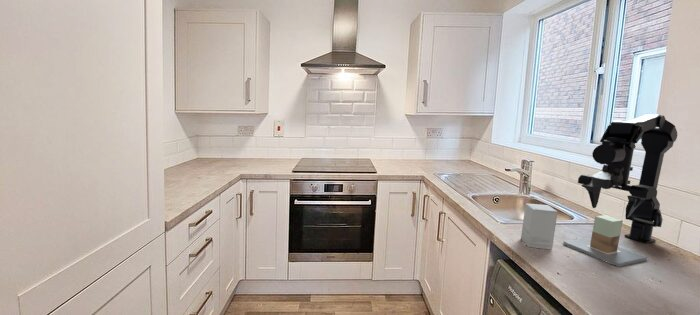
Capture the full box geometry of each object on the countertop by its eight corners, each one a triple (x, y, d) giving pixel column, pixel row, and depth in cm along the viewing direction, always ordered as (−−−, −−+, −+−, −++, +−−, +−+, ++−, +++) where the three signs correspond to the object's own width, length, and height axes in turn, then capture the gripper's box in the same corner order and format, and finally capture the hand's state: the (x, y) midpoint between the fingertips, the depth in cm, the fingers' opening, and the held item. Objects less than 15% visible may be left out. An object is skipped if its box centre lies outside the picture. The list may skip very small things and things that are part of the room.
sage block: (602, 229, 105) (605, 215, 104) (620, 235, 101) (622, 220, 100) (592, 231, 103) (595, 216, 103) (609, 237, 99) (612, 221, 98)
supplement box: (552, 250, 102) (558, 211, 101) (527, 247, 104) (532, 209, 102) (543, 241, 110) (549, 204, 108) (520, 238, 111) (525, 202, 109)
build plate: (590, 239, 113) (590, 236, 113) (646, 260, 98) (646, 256, 98) (563, 244, 108) (563, 241, 107) (618, 267, 93) (618, 263, 93)
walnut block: (599, 244, 106) (602, 229, 105) (617, 250, 101) (619, 235, 101) (589, 246, 104) (592, 231, 103) (607, 253, 100) (610, 237, 99)
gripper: (570, 158, 104) (562, 205, 106) (639, 169, 87) (629, 225, 89) (592, 157, 108) (585, 203, 111) (663, 168, 91) (652, 221, 94)
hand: (609, 212), depth 101 cm, fingers open, 9 cm apart
